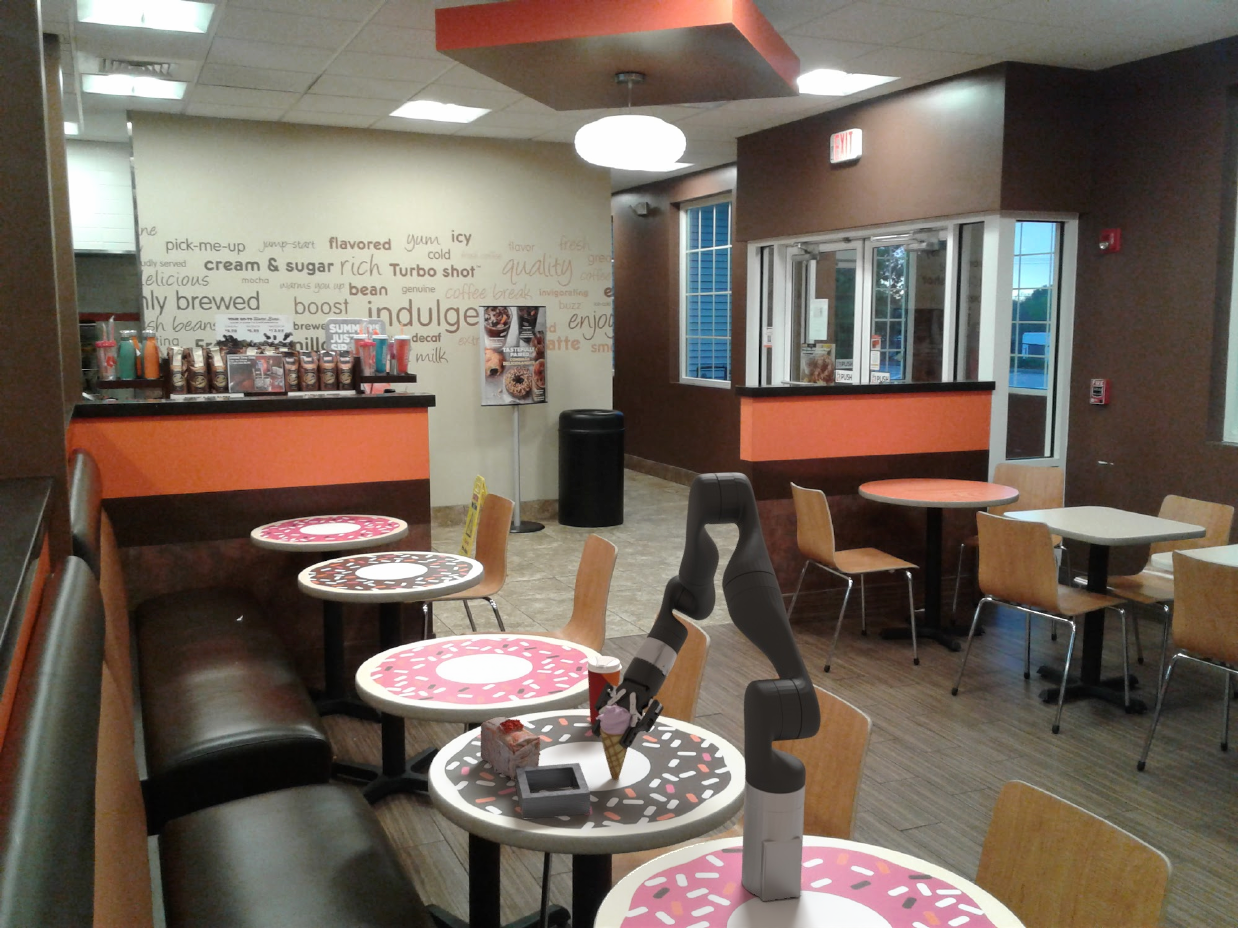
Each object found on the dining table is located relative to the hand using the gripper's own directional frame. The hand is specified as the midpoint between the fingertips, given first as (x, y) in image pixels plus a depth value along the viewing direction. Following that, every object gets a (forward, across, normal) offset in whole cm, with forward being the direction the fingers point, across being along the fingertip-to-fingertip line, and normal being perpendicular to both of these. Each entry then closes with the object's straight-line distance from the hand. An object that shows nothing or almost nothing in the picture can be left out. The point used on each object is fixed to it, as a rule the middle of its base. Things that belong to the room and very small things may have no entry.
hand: (608, 740), depth 189 cm
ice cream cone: (+5, 0, +7) cm, 8 cm away
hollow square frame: (+15, -2, -4) cm, 15 cm away
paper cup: (-8, -20, +19) cm, 28 cm away
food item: (+13, -17, -1) cm, 22 cm away
